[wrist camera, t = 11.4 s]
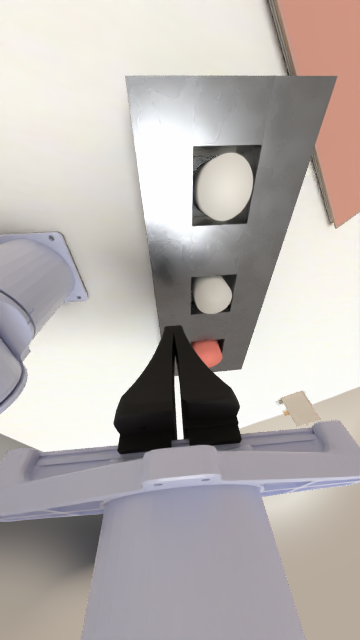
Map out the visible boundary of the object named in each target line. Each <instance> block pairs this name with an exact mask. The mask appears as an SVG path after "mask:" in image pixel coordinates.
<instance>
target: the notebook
mask: <svg viewBox="0 0 360 640" xmlns="http://www.w3.org/2000/svg"><path fill="white" fill-rule="evenodd" d="M269 4H270V7H271V11H272V15H273V18H274V22H275V25H276V29H277V33H278V36H279V40H280V43H281V47H282V51H283V54H284V58H285V61H286V65H287V69H288V72H289V76H338V77H337V80H336V83H335V86H334V89H333V92H332V95H331V98H330V101H329V104H328V107H327V110H326V113H325V116H324V119H323V122H322V125H321V128H320V131H319V134H318V137H317V141H316V144H315V147H314V150H313V153H312V158H313V162H314V166H315V169H316V173H317V176H318V180H319V184H320V187H321V191H322V194H323V198H324V202H325V205H326V209H327V212H328V216H329V220H330V222H332V223H334V226H335V228H336V229H337V228H338V227H340V226H341V225H342V224H344V223H345V222H347V221H348V220H349V219H351V218H352V217H353V216H355V215H356V214H358V213H359V212H360V0H269Z"/></svg>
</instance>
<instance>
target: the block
mask: <svg viewBox="0 0 360 640" xmlns="http://www.w3.org/2000/svg"><path fill="white" fill-rule="evenodd" d="M337 77H338V76H125V78H126V85H127V93H128V100H129V107H130V115H131V122H132V129H133V137H134V144H135V151H136V159H137V166H138V173H139V180H140V188H141V195H142V202H143V210H144V217H145V224H146V232H147V239H148V246H149V254H150V261H151V268H152V276H153V283H154V290H155V297H156V305H157V312H158V319H159V327H160V334H161V338H162V335H163V331H164V327H165V326H177V325H181V326H182V327H183V330H184V333H185V335H186V337H187V339H188V340H189V342H190V344H191V342H194V341H206V340H217V342H218V345H219V348H220V350H221V353H222V360H221V361H220V363H218V364H217V365H215V366H213V367H209V369H210V370H211V371H212V372H218V371H228V370H238V369H241V368H242V365H243V362H244V359H245V356H246V353H247V350H248V347H249V344H250V341H251V338H252V335H253V332H254V329H255V326H256V323H257V320H258V317H259V314H260V311H261V308H262V305H263V302H264V299H265V295H266V292H267V289H268V286H269V283H270V280H271V277H272V274H273V271H274V268H275V265H276V262H277V259H278V256H279V253H280V250H281V247H282V244H283V241H284V238H285V235H286V232H287V229H288V226H289V223H290V220H291V216H292V213H293V210H294V207H295V204H296V201H297V198H298V195H299V192H300V189H301V186H302V183H303V180H304V177H305V174H306V171H307V168H308V165H309V162H310V159H311V156H312V153H313V150H314V147H315V144H316V141H317V137H318V134H319V131H320V128H321V125H322V122H323V119H324V116H325V113H326V110H327V107H328V104H329V101H330V98H331V95H332V92H333V89H334V86H335V83H336V80H337ZM230 152H231V153H237V154H239V155H241V156H243V157H244V158H245V159H246V160H247V162H248V163H249V165H250V167H251V170H252V175H253V187H252V192H251V195H250V198H249V200H248V202H247V204H246V206H245V207H244V209H243V210H242V211H241V212H240V213H239V214H238V215H236V216H235V217H233V218H232V219H229V220H226V221H218V220H215V219H212V218H211V217H209V216H202V217H192V184H193V156H214V155H222V154H225V153H230ZM217 275H221V276H222V278H223V279H224V280H225V282H226V283H227V285H228V286H229V288H230V289H231V292H232V299H231V302H230V304H229V305H228V306H227V307H226V308H225V309H224V310H222V311H221V312H218V313H215V314H206V313H203V312H201V311H200V310H199V309H198V308H197V306H196V302H195V299H194V296H193V293H191V277H202V276H217ZM174 376H178V369H177V363H176V357H175V374H174Z"/></svg>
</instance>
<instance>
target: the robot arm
mask: <svg viewBox="0 0 360 640" xmlns="http://www.w3.org/2000/svg"><path fill="white" fill-rule="evenodd" d="M50 235H51V236H53V237H54V240H53V239H51V237H50ZM78 296H80V297H81V298H79V297H78ZM87 299H88V295H87V292H86V290H85V288H84V285H83V283H82V281H81V278H80V276H79V273H78V271H77V269H76V266H75V264H74V262H73V259H72V257H71V254H70V252H69V250H68V247H67V245H66V243H65V240H64V238H63V236H62V235H61V234H60V233H59V232H41V233H21V234H0V414H1V413H2V412H3V411H5V410H6V409H7V408H8V407H9V406H10V405H11V404H12V403H13V402H14V401H15V400H16V399H17V398H18V396H19V395H20V394H21V392H22V391H23V389H24V387H25V385H26V382H27V376H28V374H27V369H26V368H25V366H24V364H23V363H22V362H23V360H24V359H25V358H26V356H27V355H28V354H29V353H30V349H29V344H30V342H31V341H32V339H33V338H34V337H35V336H36V335H37V333H38V332H39V331H40V330H41V329H42V327H43V326H44V325H45V324H46V322H47V321H48V320H49V319H50V318H51V316H52V315H53V314H54V313H55V311H56V310H57V309H58V308H59V307H60V305H61V304H62V303H63V302H72V301H85V300H87ZM175 357H176V363H177V369H178V375H179V382H180V393H181V407H182V421H183V435H184V439H182V440H177V427H176V409H175V390H174V374H175ZM239 408H240V405H239V402H238V400H237V398H236V396H235V394H234V392H233V390H232V389H231V387H229V386H228V385H227V384H226V383H224V382H223V381H222V380H221V379H220V378H219V377H218V376H216V375H215V374H214V373H213V372H212V371H211V370H210V369H209V368H208V367H207V365H206V364H205V363H204V362H203V361H202V360H201V358H200V357H199V356H198V354H197V353H196V352H195V350H194V349H193V347H192V346H191V344H190V342H189V340H188V339H187V337H186V335H185V333H184V330H183V327H182V326H181V325H177V326H165V327H164V331H163V335H162V338H161V340H160V343H159V345H158V347H157V349H156V351H155V354H154V355H153V357H152V359H151V361H150V362H149V364H148V365H147V367H146V368H145V370H144V371H143V373H142V374H141V375H140V377H139V378H138V379H137V380H136V382H135V383H134V384H133V385H132V386H131V387H130V388H129V390H128V391H127V392H126V393H125V394H124V395H123V396H122V397H121V399H120V402H119V404H118V407H117V410H116V414H115V419H114V426H115V428H116V429H117V431H118V432H119V434H120V438H119V444H118V446H107V447H96V448H85V449H74V450H64V451H53V452H42V453H41V452H40V451H39V450H37V449H34V448H25V449H14V450H9V451H7V453H6V455H5V456H4V458H3V460H2V461H1V463H0V521H3V522H8V521H18V520H28V519H40V518H52V517H65V516H79V515H93V514H104V517H103V522H102V527H101V533H100V539H99V544H98V550H97V554H96V560H95V565H94V571H93V576H92V582H91V587H90V592H89V598H88V604H87V608H86V615H85V619H84V625H83V630H82V636H81V640H306V639H305V635H304V632H303V629H302V626H301V623H300V619H299V616H298V613H297V610H296V606H295V603H294V600H293V597H292V594H291V590H290V587H289V584H288V581H287V577H286V574H285V571H284V568H283V565H282V561H281V558H280V555H279V552H278V548H277V545H276V542H275V539H274V536H273V532H272V529H271V526H270V523H269V520H268V516H267V513H266V510H265V507H264V503H263V500H262V497H263V496H270V495H278V494H285V493H292V492H299V491H306V490H313V489H320V488H329V487H337V486H346V485H352V484H355V483H358V482H360V447H359V446H358V444H357V443H356V442H355V440H354V439H353V438H352V436H351V435H350V434H349V432H348V431H347V430H346V428H345V427H344V425H343V424H342V423H341V422H340V421H339V420H331V421H321V422H318V423H316V424H314V425H313V426H312V428H301V429H291V430H280V431H269V432H258V433H247V434H240V431H239V428H238V420H237V417H236V416H237V414H238V411H239Z"/></svg>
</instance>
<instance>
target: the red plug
mask: <svg viewBox="0 0 360 640" xmlns="http://www.w3.org/2000/svg"><path fill="white" fill-rule="evenodd" d="M191 346H192V347H193V349H194V350H195V352H196V353H197V354H198V356H199V357H200V358H201V360H202V361H203V362H204V363H205V364H206V365H207V367H208V368H209V367H213V366H215V365H217V364H218V363H220V361H221V360H222V353H221V350H220V348H219V345H218V342H217V340H206V341H194V342H191Z"/></svg>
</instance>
